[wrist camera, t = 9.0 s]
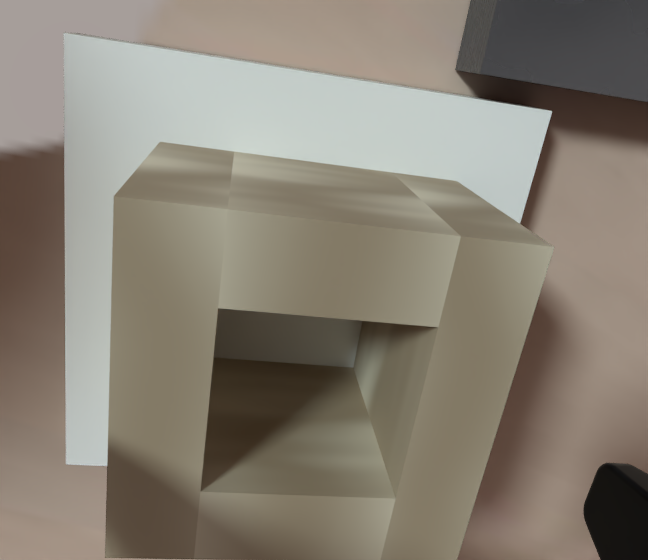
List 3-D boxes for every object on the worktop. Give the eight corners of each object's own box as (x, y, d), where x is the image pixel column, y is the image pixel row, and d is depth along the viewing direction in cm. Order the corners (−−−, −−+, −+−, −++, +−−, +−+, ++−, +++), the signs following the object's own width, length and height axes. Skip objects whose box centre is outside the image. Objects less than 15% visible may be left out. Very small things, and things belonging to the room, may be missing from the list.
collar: (456, 180, 13) (554, 246, 9) (399, 421, 15) (455, 562, 11) (159, 141, 12) (113, 195, 8) (146, 406, 14) (105, 557, 10)
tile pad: (531, 106, 14) (552, 111, 13) (435, 456, 17) (446, 480, 16) (77, 33, 12) (63, 32, 11) (76, 438, 15) (66, 464, 15)
